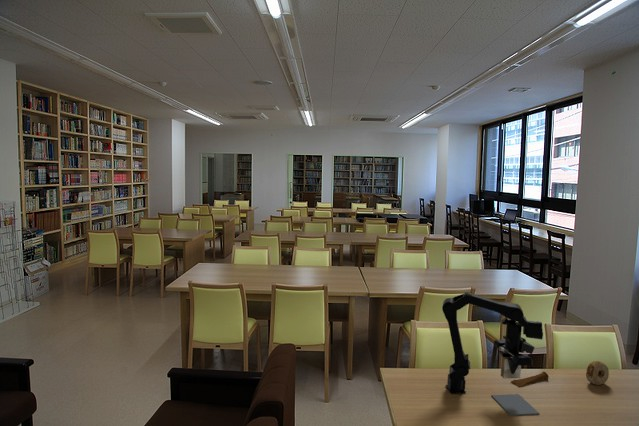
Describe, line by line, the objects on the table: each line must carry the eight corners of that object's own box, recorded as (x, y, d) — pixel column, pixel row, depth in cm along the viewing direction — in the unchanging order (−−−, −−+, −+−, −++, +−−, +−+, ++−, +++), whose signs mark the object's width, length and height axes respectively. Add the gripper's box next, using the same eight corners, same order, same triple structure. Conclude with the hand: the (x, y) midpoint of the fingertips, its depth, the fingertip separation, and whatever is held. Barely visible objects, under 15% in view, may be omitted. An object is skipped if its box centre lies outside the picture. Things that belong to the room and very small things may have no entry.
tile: (504, 378, 168) (505, 359, 167) (500, 375, 170) (501, 356, 169) (520, 378, 168) (521, 359, 168) (516, 375, 171) (518, 356, 170)
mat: (510, 415, 159) (510, 414, 159) (491, 396, 173) (491, 395, 172) (539, 414, 160) (539, 413, 160) (518, 395, 174) (518, 394, 174)
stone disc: (591, 386, 182) (592, 365, 181) (583, 382, 186) (585, 361, 185) (609, 384, 185) (611, 363, 184) (602, 380, 188) (604, 359, 188)
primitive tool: (519, 388, 180) (519, 380, 180) (509, 382, 185) (509, 375, 185) (549, 381, 188) (550, 373, 188) (538, 375, 193) (539, 368, 193)
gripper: (546, 344, 159) (543, 382, 161) (518, 326, 178) (516, 361, 179) (519, 344, 158) (516, 383, 159) (494, 327, 176) (491, 362, 178)
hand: (510, 372), depth 169 cm, fingers closed on tile, 2 cm apart
